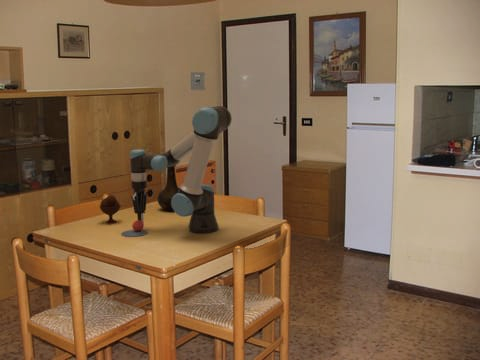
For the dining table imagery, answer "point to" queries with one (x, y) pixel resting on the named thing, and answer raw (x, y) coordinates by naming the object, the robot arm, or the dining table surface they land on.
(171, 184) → the dark brown vase
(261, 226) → the dining table surface
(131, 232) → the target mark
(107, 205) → the ice cream bowl
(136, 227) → the ball
